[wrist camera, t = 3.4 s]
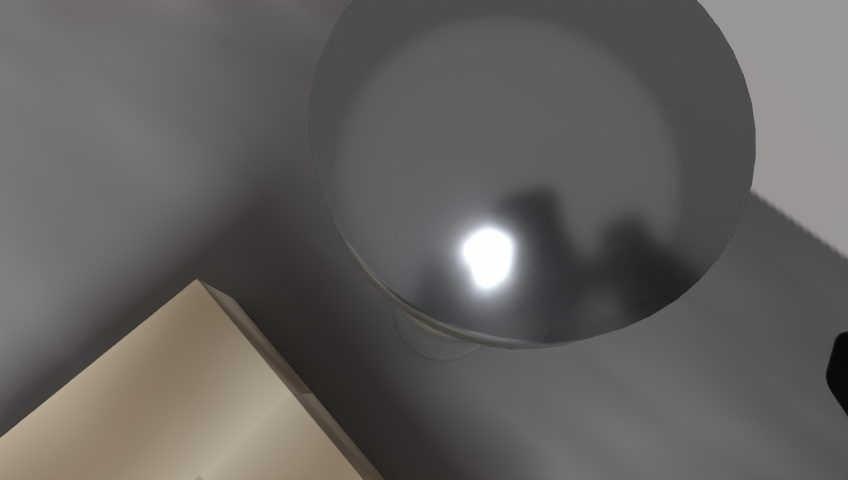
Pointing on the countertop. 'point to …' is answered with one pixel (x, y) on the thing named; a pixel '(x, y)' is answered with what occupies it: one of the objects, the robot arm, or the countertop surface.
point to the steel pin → (530, 162)
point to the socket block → (185, 409)
